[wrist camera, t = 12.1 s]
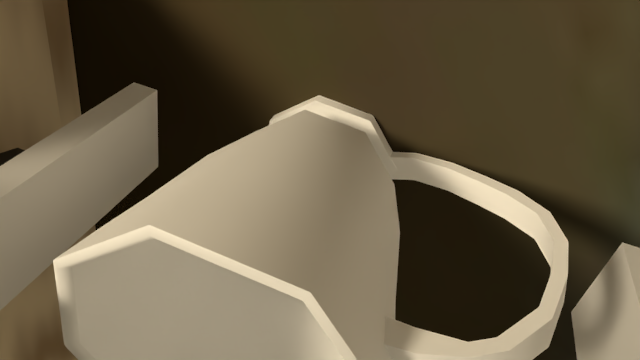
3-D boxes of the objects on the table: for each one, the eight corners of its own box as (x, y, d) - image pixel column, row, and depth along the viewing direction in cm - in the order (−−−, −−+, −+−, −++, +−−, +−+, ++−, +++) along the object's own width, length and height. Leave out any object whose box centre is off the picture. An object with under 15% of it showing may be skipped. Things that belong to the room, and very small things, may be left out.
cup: (202, 56, 15) (-20, 213, 9) (570, 40, 12) (634, 271, 6) (252, 238, 19) (119, 443, 13) (544, 265, 16) (565, 562, 9)
